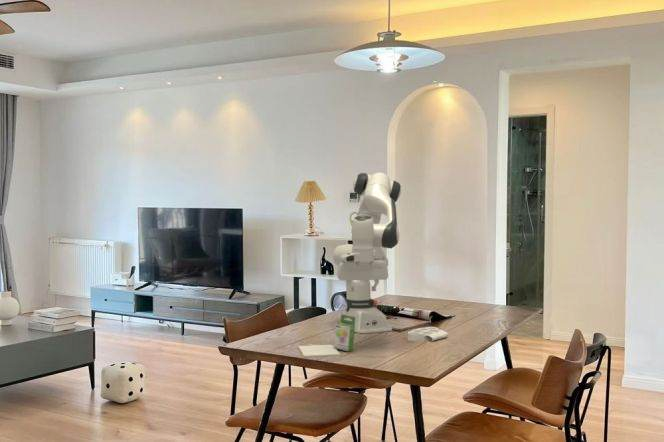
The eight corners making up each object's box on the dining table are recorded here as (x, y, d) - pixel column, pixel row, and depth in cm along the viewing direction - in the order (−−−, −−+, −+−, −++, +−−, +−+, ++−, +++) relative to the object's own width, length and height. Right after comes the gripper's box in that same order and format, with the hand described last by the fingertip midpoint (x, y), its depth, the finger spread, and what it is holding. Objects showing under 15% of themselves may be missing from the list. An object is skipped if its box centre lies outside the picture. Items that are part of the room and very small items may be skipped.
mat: (332, 346, 268) (332, 344, 268) (340, 355, 252) (340, 353, 252) (298, 347, 265) (298, 346, 265) (304, 357, 249) (304, 355, 249)
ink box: (333, 348, 261) (336, 315, 260) (338, 347, 264) (341, 314, 264) (347, 351, 257) (350, 317, 256) (353, 350, 260) (356, 317, 260)
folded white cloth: (427, 344, 272) (400, 339, 282) (452, 337, 285) (424, 332, 295) (428, 336, 272) (400, 331, 282) (452, 329, 285) (424, 325, 295)
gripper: (386, 255, 265) (385, 289, 266) (336, 256, 262) (336, 290, 262) (390, 256, 259) (390, 291, 260) (339, 257, 255) (339, 292, 256)
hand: (362, 291), depth 261 cm, fingers open, 8 cm apart
